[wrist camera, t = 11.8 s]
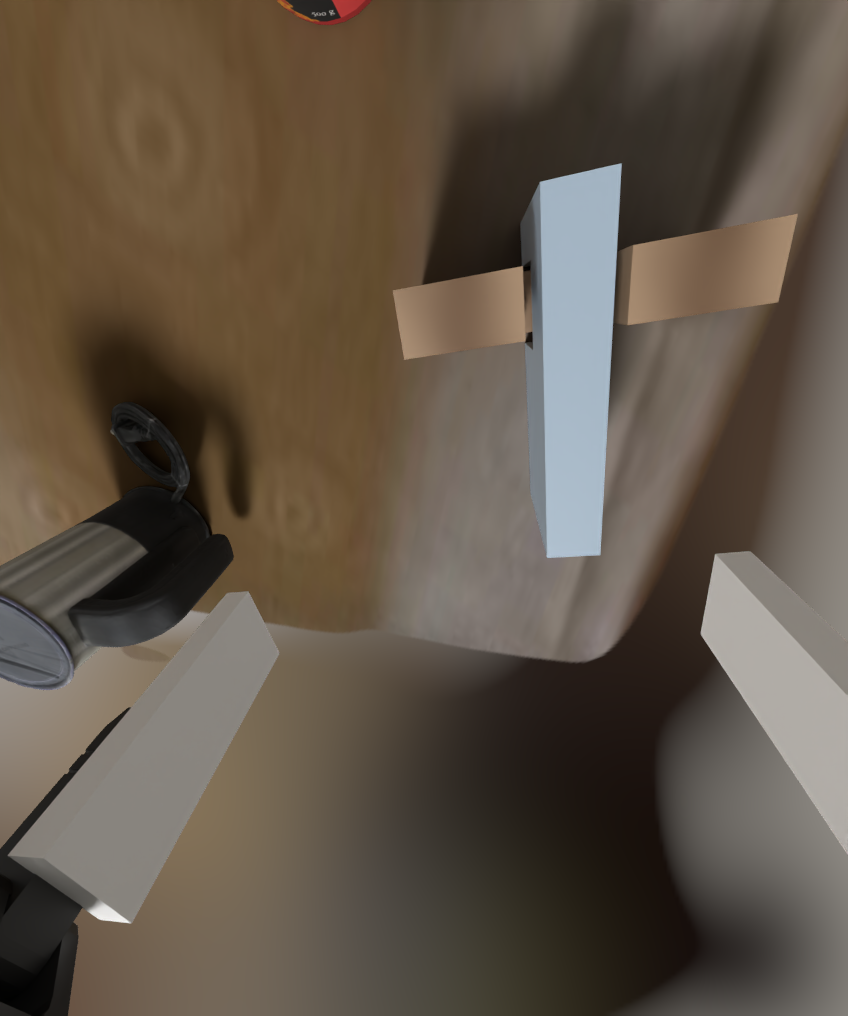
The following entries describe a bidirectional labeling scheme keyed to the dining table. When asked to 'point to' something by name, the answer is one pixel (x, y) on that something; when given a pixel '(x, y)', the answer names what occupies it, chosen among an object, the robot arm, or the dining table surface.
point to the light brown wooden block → (638, 288)
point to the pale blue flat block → (570, 352)
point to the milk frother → (109, 570)
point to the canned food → (325, 9)
